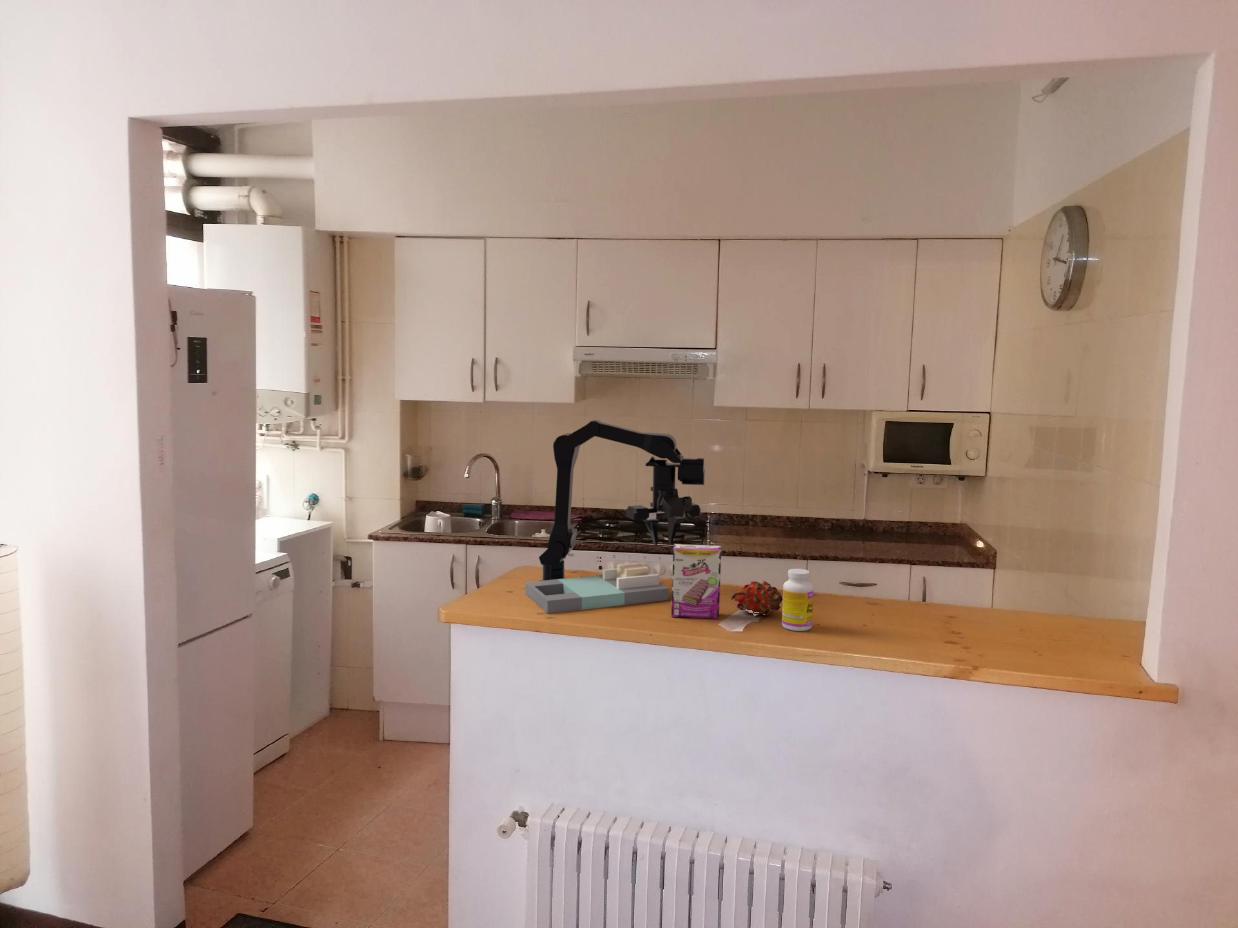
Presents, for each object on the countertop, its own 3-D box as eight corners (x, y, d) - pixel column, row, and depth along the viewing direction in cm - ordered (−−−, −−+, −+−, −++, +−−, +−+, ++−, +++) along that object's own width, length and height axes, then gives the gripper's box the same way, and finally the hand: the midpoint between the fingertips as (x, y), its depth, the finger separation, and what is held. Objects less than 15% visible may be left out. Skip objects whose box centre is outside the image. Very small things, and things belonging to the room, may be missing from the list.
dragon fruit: (785, 624, 201) (734, 626, 204) (786, 595, 207) (736, 598, 211) (780, 601, 196) (727, 603, 199) (780, 572, 202) (729, 575, 205)
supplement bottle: (809, 633, 189) (811, 575, 188) (779, 629, 191) (781, 573, 190) (814, 624, 195) (816, 569, 194) (784, 621, 198) (786, 566, 196)
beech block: (616, 579, 222) (617, 564, 221) (638, 577, 224) (638, 562, 223) (626, 585, 216) (626, 569, 216) (648, 583, 218) (648, 567, 218)
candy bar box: (671, 617, 200) (672, 548, 198) (671, 611, 205) (673, 543, 203) (720, 619, 199) (721, 549, 197) (719, 613, 203) (721, 544, 201)
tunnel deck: (525, 593, 219) (525, 572, 218) (639, 582, 231) (639, 562, 230) (547, 613, 202) (547, 590, 202) (669, 599, 214) (669, 578, 214)
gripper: (643, 490, 209) (642, 553, 211) (711, 486, 216) (710, 547, 218) (625, 484, 219) (624, 544, 221) (691, 480, 227) (690, 539, 228)
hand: (663, 544), depth 222 cm, fingers open, 4 cm apart
